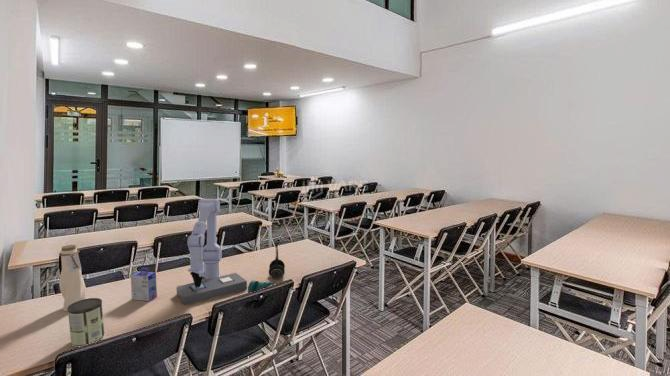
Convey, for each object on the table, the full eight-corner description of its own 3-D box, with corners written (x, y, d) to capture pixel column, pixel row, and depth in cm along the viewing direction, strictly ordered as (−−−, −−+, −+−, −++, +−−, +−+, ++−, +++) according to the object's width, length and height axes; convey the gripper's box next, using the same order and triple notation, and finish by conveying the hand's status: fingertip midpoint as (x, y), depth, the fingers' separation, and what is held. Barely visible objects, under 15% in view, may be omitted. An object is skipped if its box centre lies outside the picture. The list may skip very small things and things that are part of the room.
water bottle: (93, 304, 153) (88, 245, 150) (72, 314, 145) (67, 250, 141) (78, 301, 157) (72, 242, 153) (56, 310, 148) (50, 248, 145)
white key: (219, 284, 173) (219, 279, 173) (229, 282, 176) (229, 276, 176) (223, 288, 169) (223, 282, 169) (233, 285, 172) (232, 279, 172)
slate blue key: (191, 291, 165) (190, 285, 164) (201, 289, 168) (201, 283, 167) (194, 295, 161) (194, 289, 160) (205, 292, 164) (204, 286, 163)
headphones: (284, 271, 197) (284, 237, 194) (284, 281, 182) (284, 245, 180) (269, 271, 195) (269, 238, 193) (268, 282, 181) (267, 245, 178)
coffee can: (83, 332, 131) (80, 297, 129) (110, 332, 132) (108, 297, 130) (63, 348, 121) (59, 310, 119) (92, 347, 121) (89, 310, 120)
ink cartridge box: (158, 296, 162) (156, 267, 161) (149, 301, 157) (147, 271, 155) (140, 294, 164) (138, 265, 163) (131, 299, 159) (129, 270, 157)
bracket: (260, 301, 159) (260, 285, 158) (248, 299, 161) (247, 283, 160) (278, 286, 176) (278, 271, 175) (266, 284, 178) (266, 270, 177)
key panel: (176, 294, 165) (176, 286, 164) (236, 279, 183) (235, 272, 183) (184, 305, 154) (184, 296, 154) (246, 288, 173) (246, 281, 172)
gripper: (183, 256, 165) (184, 283, 167) (192, 265, 154) (193, 293, 156) (198, 254, 170) (199, 280, 171) (208, 262, 158) (209, 289, 160)
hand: (197, 286), depth 164 cm, fingers closed
